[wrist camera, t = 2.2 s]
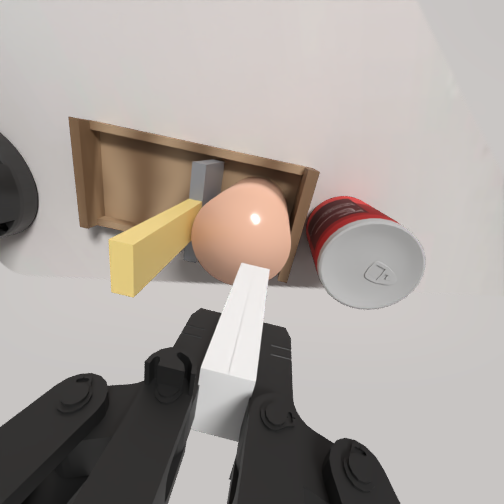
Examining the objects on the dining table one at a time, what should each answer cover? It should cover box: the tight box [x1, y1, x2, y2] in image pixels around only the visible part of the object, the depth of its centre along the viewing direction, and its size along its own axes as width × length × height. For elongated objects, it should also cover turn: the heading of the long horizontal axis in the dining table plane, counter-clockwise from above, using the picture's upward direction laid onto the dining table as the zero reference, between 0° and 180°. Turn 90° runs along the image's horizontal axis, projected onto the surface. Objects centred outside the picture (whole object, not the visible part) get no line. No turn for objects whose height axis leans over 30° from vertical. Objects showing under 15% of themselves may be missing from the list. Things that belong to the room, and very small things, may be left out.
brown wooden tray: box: [69, 117, 320, 283], centre depth 26 cm, size 25×12×6 cm, turn 79°
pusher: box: [109, 159, 225, 297], centre depth 20 cm, size 1×9×18 cm, turn 169°
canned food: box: [306, 196, 425, 310], centre depth 23 cm, size 8×8×11 cm
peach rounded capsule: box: [191, 177, 291, 285], centre depth 23 cm, size 8×8×11 cm
